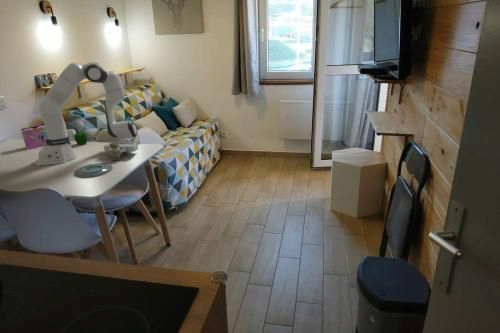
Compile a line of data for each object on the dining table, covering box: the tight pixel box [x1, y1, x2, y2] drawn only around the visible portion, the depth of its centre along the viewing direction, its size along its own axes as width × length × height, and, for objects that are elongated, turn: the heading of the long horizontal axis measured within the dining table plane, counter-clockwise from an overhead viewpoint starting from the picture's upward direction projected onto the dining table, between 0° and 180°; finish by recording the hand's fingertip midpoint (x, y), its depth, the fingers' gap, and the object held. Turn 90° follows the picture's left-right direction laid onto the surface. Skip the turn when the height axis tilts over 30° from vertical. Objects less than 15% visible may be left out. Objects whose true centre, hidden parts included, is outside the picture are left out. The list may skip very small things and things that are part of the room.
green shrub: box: [73, 129, 88, 146], centre depth 248 cm, size 8×8×10 cm
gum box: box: [20, 124, 48, 150], centre depth 249 cm, size 24×8×14 cm, turn 135°
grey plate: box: [74, 162, 113, 179], centre depth 200 cm, size 20×20×2 cm
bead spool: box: [108, 142, 122, 162], centre depth 215 cm, size 6×6×10 cm
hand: (114, 151), depth 214 cm, fingers closed on bead spool, 5 cm apart
